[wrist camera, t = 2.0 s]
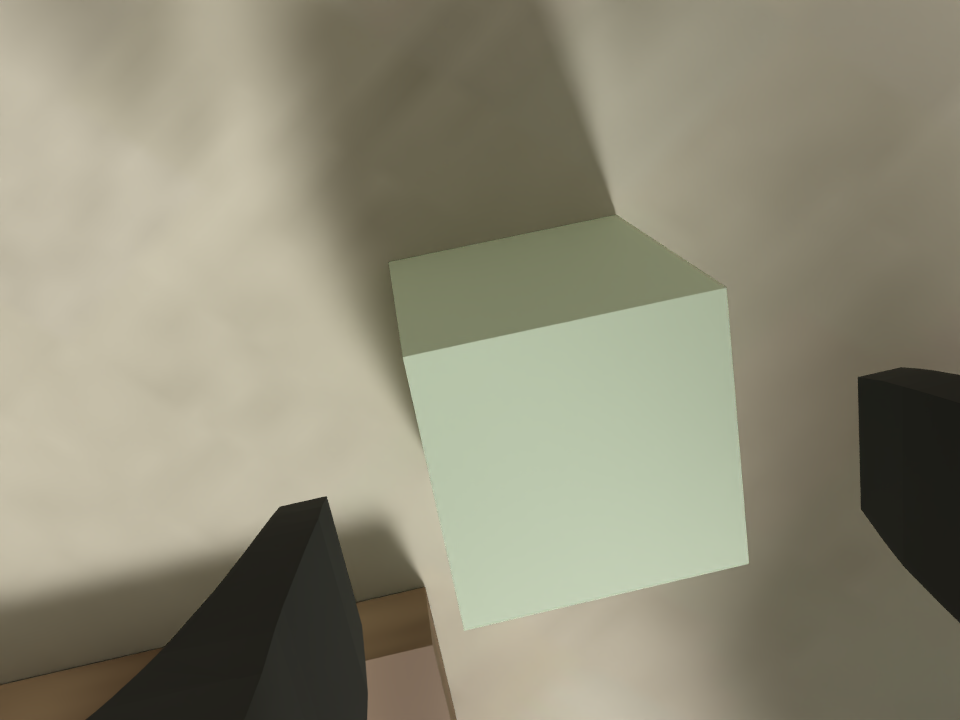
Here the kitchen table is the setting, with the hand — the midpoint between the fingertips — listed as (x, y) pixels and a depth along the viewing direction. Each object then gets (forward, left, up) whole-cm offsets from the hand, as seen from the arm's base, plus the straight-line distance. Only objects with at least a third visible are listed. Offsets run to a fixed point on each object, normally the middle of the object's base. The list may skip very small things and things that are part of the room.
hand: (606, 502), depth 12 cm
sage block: (0, 0, -7) cm, 7 cm away
